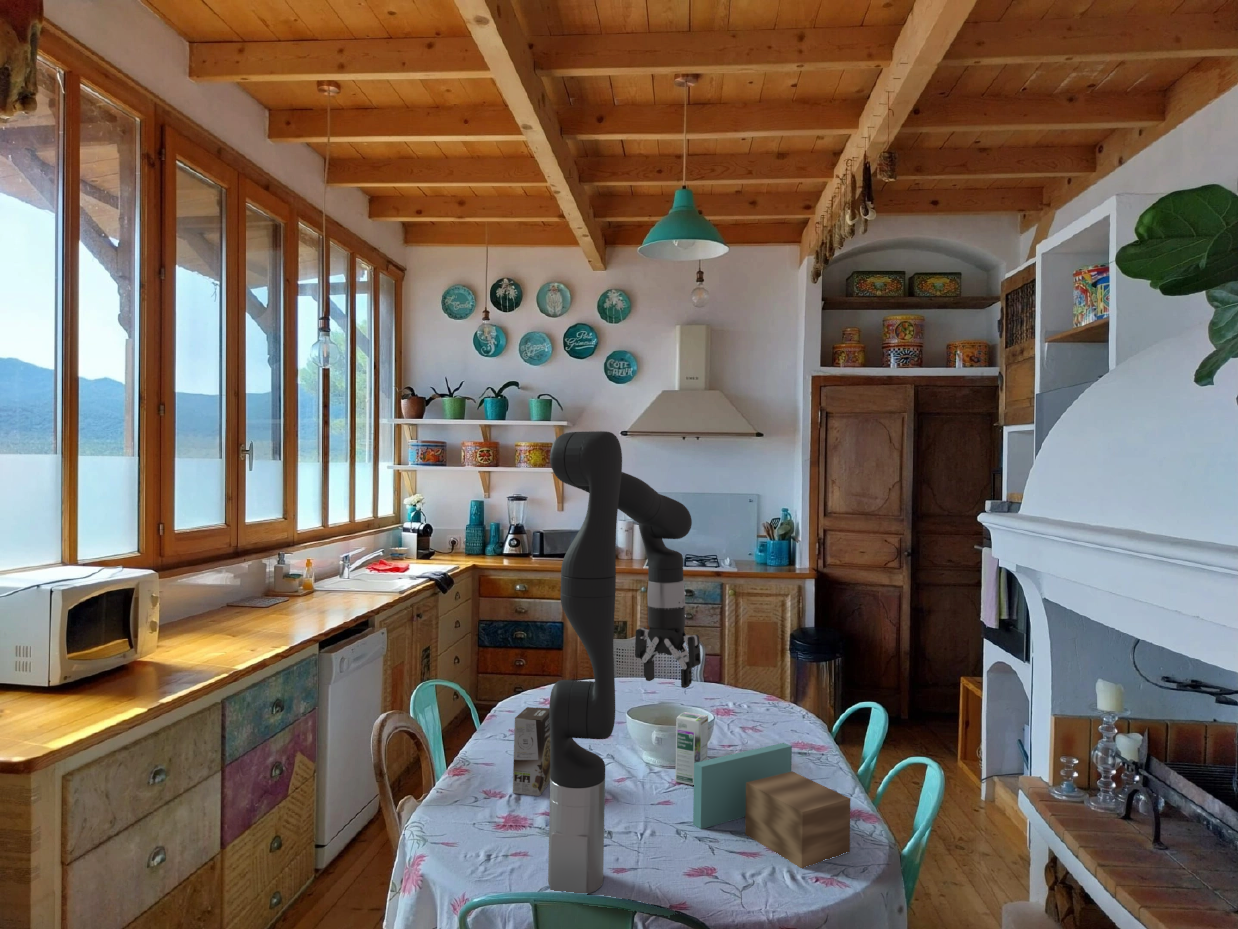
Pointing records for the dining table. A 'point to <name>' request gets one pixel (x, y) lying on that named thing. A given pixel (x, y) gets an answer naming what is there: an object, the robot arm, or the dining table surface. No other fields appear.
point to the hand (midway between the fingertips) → (667, 683)
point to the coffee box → (531, 751)
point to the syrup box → (690, 745)
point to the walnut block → (797, 818)
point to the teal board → (733, 782)
